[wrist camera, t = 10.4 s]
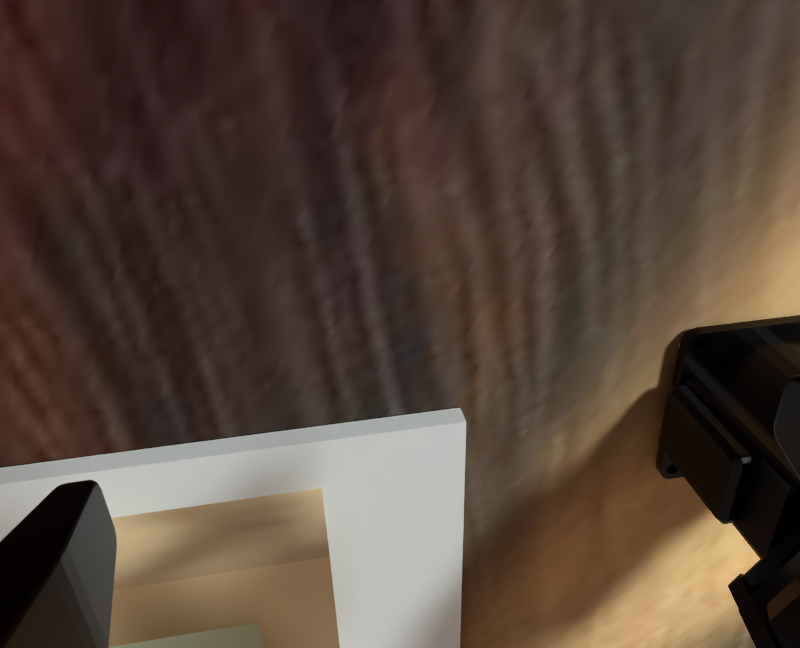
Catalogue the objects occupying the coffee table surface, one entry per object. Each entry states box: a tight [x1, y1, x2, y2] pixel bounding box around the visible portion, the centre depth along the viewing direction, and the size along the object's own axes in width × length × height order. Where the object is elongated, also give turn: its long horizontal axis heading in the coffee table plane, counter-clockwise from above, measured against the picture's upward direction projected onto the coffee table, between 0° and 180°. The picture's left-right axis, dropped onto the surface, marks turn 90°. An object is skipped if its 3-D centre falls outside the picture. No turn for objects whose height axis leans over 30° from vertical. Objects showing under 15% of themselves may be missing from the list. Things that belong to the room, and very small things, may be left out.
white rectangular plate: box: [0, 408, 466, 648], centre depth 26 cm, size 20×14×1 cm
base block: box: [8, 488, 340, 648], centre depth 24 cm, size 10×10×3 cm
